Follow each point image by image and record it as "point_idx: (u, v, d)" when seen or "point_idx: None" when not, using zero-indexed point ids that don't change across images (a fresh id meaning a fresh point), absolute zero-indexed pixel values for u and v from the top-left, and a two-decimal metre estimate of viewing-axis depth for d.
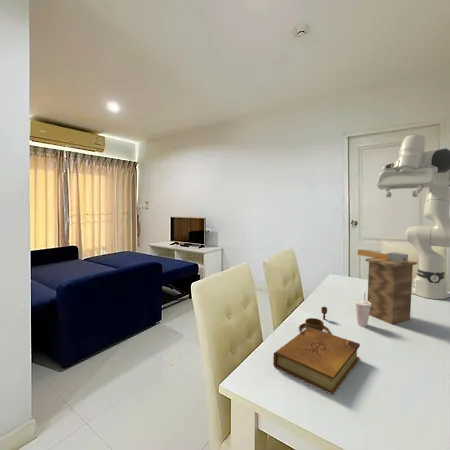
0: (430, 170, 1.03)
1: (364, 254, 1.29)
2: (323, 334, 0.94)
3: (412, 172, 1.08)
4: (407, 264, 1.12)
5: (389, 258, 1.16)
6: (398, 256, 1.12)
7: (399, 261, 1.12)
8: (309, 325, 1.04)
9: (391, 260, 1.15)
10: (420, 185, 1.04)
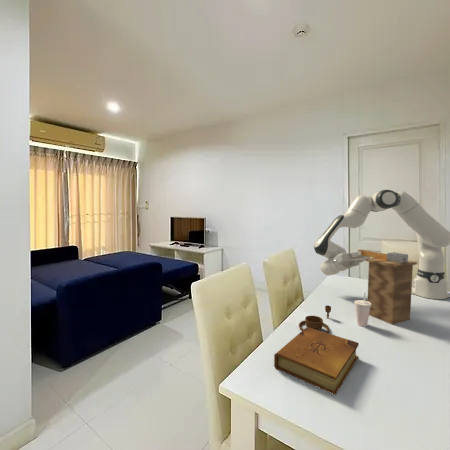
0: (338, 263, 1.35)
1: (364, 254, 1.29)
2: (322, 334, 0.94)
3: (346, 262, 1.37)
4: (407, 264, 1.12)
5: (389, 258, 1.16)
6: (398, 256, 1.12)
7: (399, 261, 1.12)
8: (308, 322, 1.07)
9: (391, 260, 1.15)
10: (354, 257, 1.32)
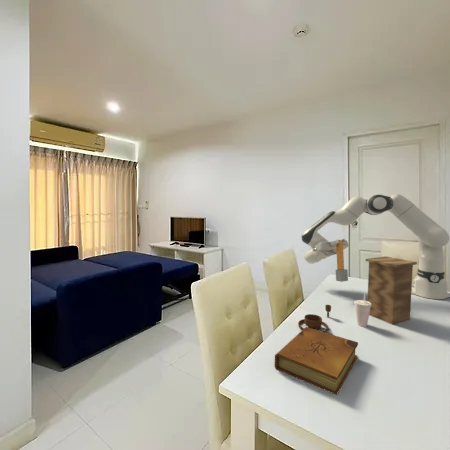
0: (318, 251, 1.47)
1: (337, 247, 1.44)
2: (321, 334, 0.94)
3: (326, 250, 1.49)
4: (407, 264, 1.12)
5: (337, 272, 1.43)
6: (340, 279, 1.41)
7: (337, 280, 1.43)
8: (307, 320, 1.08)
9: (336, 273, 1.43)
10: (332, 245, 1.44)
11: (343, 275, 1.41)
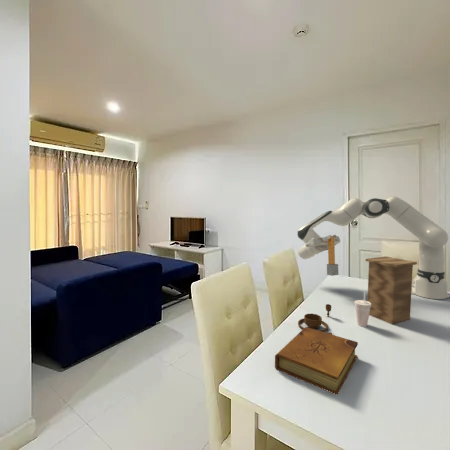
0: (310, 247, 1.52)
1: (328, 242, 1.49)
2: (321, 334, 0.94)
3: (318, 246, 1.55)
4: (407, 264, 1.12)
5: (328, 266, 1.49)
6: (330, 273, 1.47)
7: (328, 274, 1.49)
8: (306, 319, 1.09)
9: (327, 268, 1.49)
10: (324, 241, 1.50)
11: (334, 269, 1.47)
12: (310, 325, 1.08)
